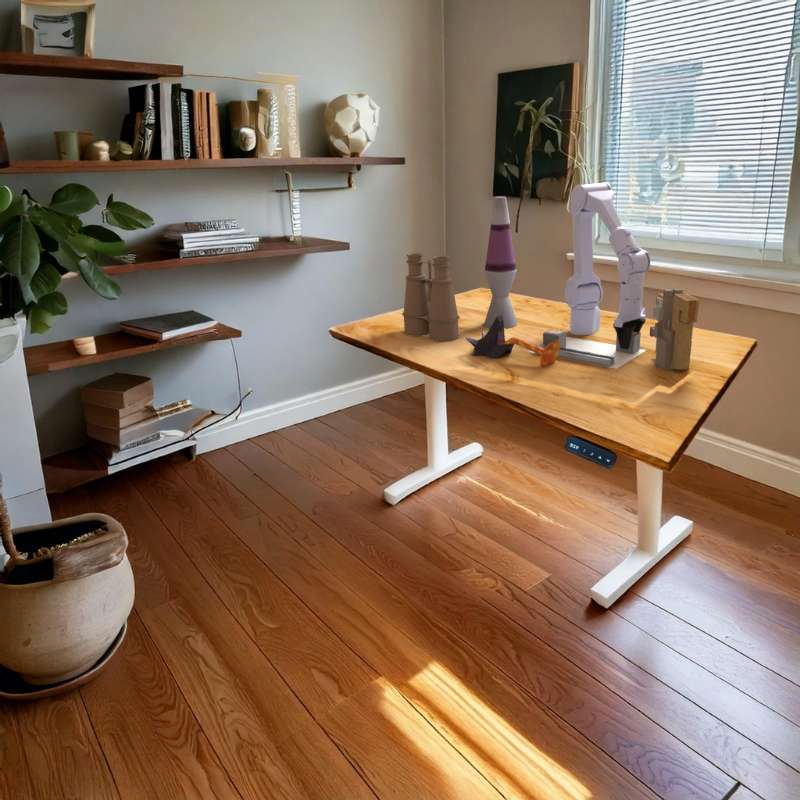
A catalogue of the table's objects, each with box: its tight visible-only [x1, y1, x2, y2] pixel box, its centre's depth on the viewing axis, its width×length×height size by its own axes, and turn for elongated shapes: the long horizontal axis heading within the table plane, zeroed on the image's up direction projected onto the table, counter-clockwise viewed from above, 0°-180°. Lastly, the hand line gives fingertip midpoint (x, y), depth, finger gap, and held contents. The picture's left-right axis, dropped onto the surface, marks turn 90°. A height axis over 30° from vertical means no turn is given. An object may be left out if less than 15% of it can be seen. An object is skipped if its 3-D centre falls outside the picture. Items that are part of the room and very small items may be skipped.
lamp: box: [483, 196, 518, 329], centre depth 216 cm, size 11×11×40 cm
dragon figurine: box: [465, 314, 560, 368], centre depth 187 cm, size 10×12×25 cm
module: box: [615, 331, 642, 354], centre depth 187 cm, size 4×5×5 cm
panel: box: [529, 336, 647, 370], centre depth 190 cm, size 18×26×1 cm
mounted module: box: [542, 329, 567, 348], centre depth 191 cm, size 4×5×5 cm
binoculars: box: [401, 252, 460, 343], centre depth 212 cm, size 21×10×25 cm, turn 46°
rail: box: [536, 343, 615, 368], centre depth 184 cm, size 3×22×2 cm, turn 48°
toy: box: [649, 288, 700, 371], centre depth 172 cm, size 6×17×20 cm, turn 2°
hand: (627, 346), depth 187 cm, fingers closed on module, 4 cm apart
